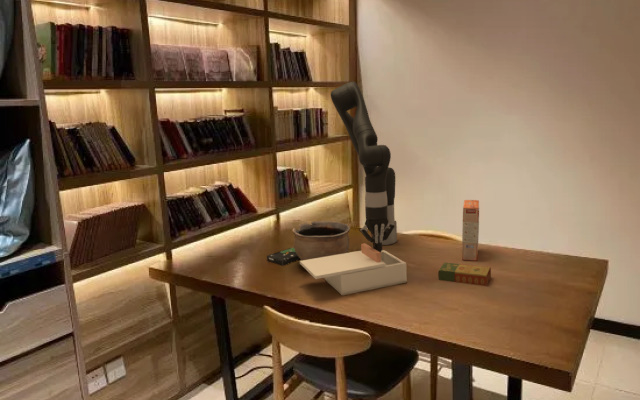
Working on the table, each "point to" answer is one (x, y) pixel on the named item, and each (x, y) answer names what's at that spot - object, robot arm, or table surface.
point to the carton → (465, 273)
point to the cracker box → (470, 230)
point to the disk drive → (283, 257)
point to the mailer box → (371, 276)
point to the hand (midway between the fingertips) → (377, 252)
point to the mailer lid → (344, 263)
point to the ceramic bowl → (321, 239)
